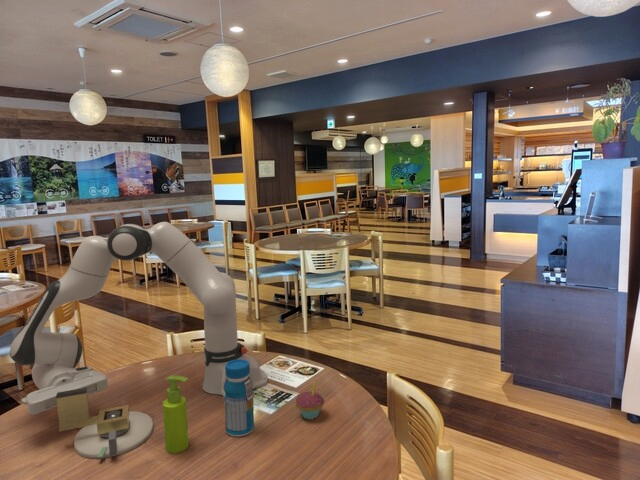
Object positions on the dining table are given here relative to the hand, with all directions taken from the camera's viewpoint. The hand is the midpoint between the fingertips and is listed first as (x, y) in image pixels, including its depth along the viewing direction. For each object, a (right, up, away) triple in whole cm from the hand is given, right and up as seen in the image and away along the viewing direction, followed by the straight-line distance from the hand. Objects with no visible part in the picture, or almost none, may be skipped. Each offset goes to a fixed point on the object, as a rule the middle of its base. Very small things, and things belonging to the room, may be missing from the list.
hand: (77, 401), depth 118 cm
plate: (+9, -11, +2) cm, 14 cm away
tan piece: (+4, -8, +1) cm, 9 cm away
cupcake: (+64, -9, +12) cm, 66 cm away
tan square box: (+9, -9, +3) cm, 13 cm away
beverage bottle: (+44, -10, +6) cm, 45 cm away
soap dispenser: (+29, -12, -2) cm, 31 cm away
